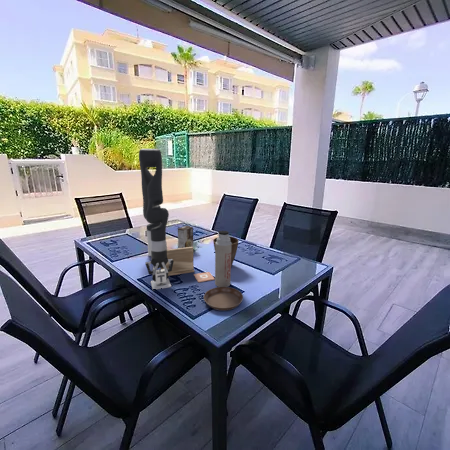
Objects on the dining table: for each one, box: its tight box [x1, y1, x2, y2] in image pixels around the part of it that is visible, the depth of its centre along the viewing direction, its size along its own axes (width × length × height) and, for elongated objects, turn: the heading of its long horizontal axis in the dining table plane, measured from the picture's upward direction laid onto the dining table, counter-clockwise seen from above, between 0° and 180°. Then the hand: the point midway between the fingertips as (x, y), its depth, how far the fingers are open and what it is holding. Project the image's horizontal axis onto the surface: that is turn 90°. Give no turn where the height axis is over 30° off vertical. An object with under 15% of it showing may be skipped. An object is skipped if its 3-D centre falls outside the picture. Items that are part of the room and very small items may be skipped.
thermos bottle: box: [214, 230, 232, 287], centre depth 130 cm, size 8×8×28 cm
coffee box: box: [177, 225, 194, 248], centre depth 179 cm, size 9×6×16 cm
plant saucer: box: [203, 286, 244, 312], centre depth 117 cm, size 18×18×3 cm
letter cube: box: [155, 268, 166, 284], centre depth 131 cm, size 5×5×5 cm
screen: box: [160, 246, 195, 277], centre depth 144 cm, size 5×18×14 cm, turn 112°
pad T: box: [150, 277, 172, 290], centre depth 132 cm, size 9×9×1 cm
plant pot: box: [212, 236, 239, 267], centre depth 154 cm, size 15×15×16 cm
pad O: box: [193, 271, 215, 283], centre depth 140 cm, size 9×9×1 cm
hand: (160, 279), depth 131 cm, fingers closed on letter cube, 5 cm apart
